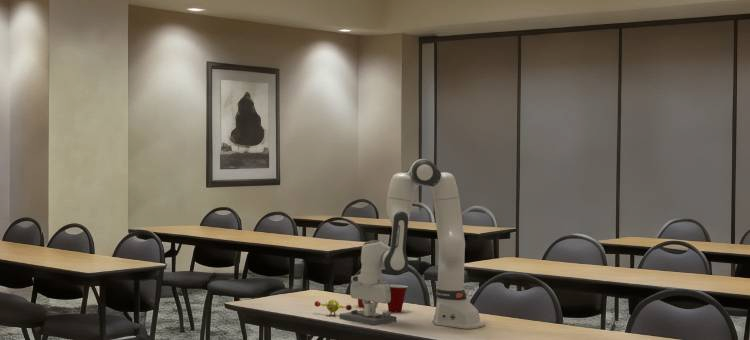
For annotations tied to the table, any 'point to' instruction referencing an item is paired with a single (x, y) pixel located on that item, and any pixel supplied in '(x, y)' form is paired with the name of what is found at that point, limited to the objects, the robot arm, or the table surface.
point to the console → (368, 317)
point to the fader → (368, 309)
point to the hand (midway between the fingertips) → (370, 311)
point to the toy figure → (332, 306)
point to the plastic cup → (396, 297)
